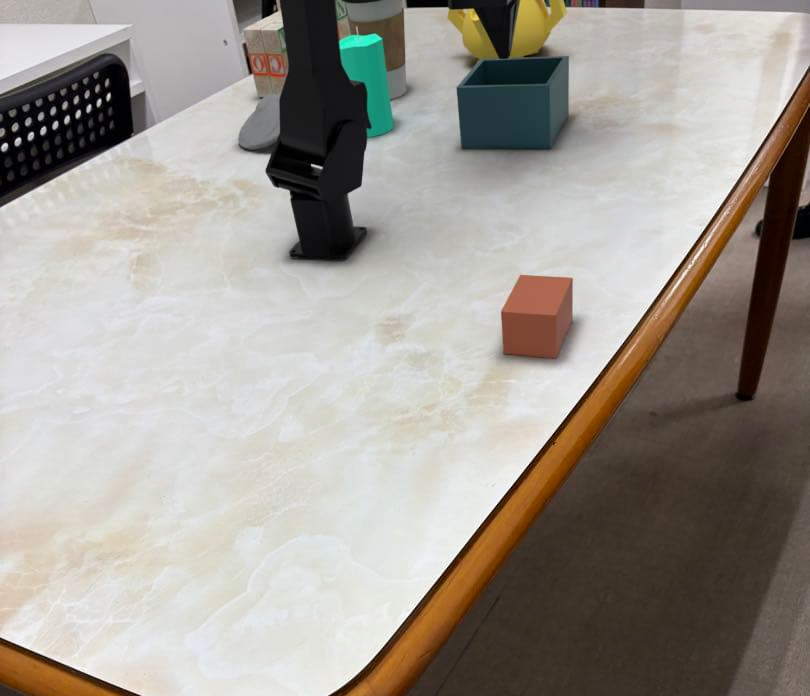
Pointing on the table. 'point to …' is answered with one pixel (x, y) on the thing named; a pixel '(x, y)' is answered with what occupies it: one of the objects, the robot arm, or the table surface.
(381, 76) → the candle
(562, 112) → the open box
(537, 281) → the reddish brown block
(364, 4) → the coffee cup
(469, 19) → the teapot
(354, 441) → the table surface
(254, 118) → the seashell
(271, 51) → the stack of blocks
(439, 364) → the table surface
